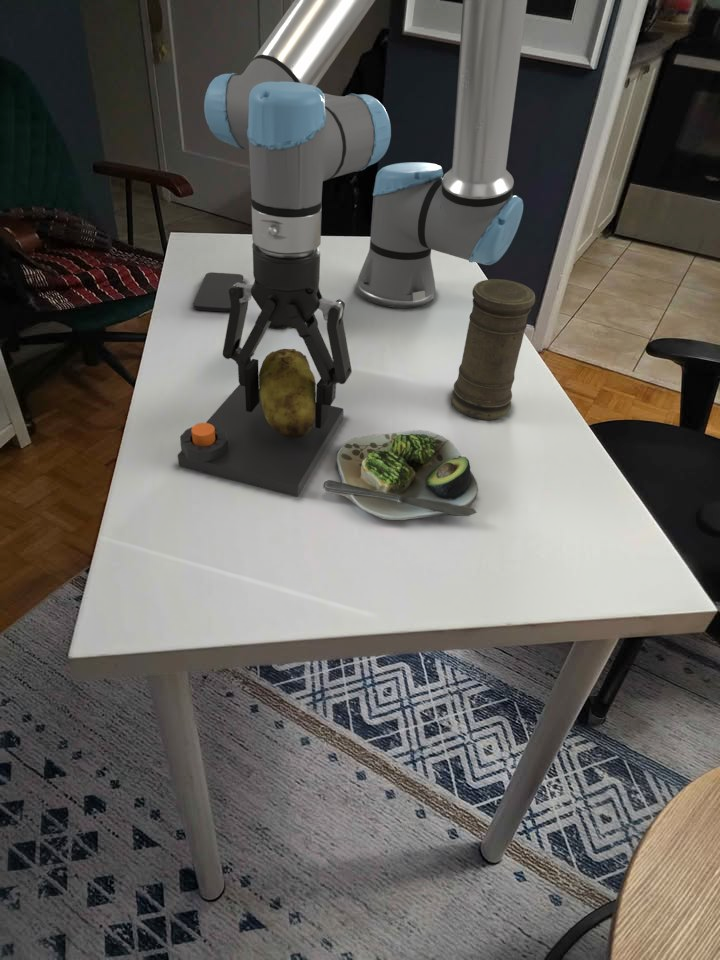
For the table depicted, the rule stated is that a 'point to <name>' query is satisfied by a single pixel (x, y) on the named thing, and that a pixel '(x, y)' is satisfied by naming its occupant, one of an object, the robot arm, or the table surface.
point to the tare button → (203, 434)
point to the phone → (216, 291)
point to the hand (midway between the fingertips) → (286, 414)
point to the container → (492, 348)
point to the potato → (288, 392)
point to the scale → (257, 447)
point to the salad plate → (405, 476)
